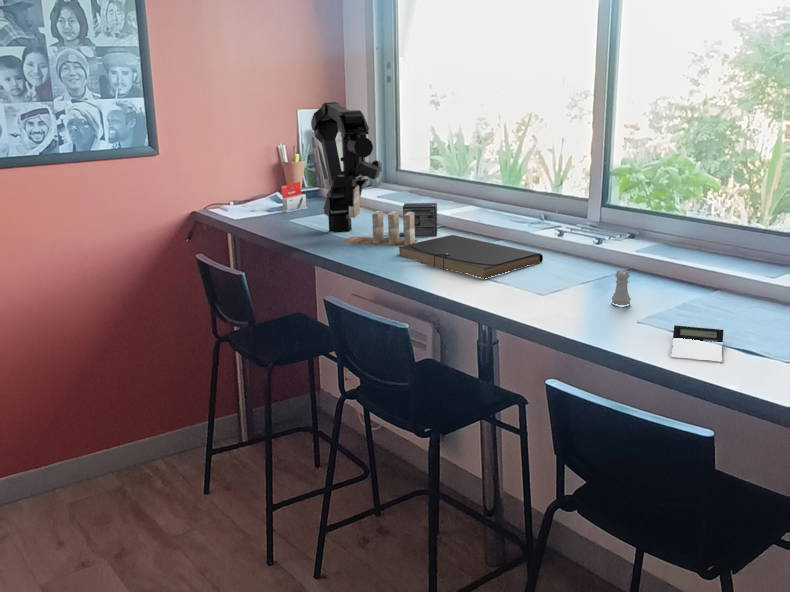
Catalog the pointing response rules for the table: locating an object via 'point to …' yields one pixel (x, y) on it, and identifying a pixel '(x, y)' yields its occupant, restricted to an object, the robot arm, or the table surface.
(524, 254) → the book
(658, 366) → the table surface
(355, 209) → the domino
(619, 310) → the table surface
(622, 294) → the rook chess piece
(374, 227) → the domino
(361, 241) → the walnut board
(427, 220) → the small box
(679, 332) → the calculator
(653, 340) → the table surface
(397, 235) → the domino
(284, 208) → the ink cartridge box
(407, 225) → the domino
